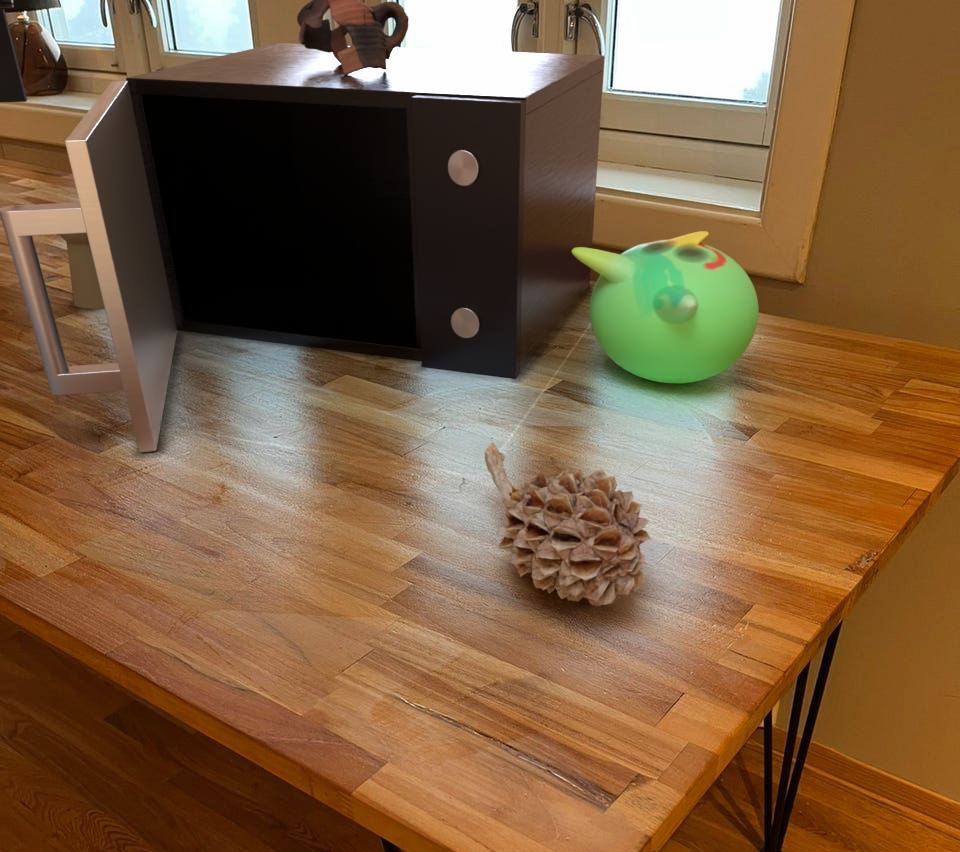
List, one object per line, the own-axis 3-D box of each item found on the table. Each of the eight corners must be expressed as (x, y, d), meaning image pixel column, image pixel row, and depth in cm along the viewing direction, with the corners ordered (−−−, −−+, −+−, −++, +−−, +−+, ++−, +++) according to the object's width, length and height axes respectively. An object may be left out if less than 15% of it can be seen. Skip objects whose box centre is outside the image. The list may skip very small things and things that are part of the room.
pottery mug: (320, 82, 101) (288, -1, 99) (320, 113, 110) (290, 38, 108) (425, 43, 102) (396, -40, 100) (416, 77, 111) (389, 2, 109)
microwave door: (62, 459, 90) (-31, 144, 74) (103, 337, 116) (41, 83, 100) (156, 451, 92) (85, 140, 75) (177, 332, 117) (127, 80, 101)
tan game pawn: (130, 295, 129) (110, 207, 122) (108, 309, 124) (86, 219, 117) (88, 292, 130) (66, 205, 123) (65, 307, 125) (41, 217, 118)
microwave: (513, 382, 105) (518, 101, 88) (164, 337, 116) (111, 80, 100) (589, 285, 131) (604, 55, 115) (299, 256, 143) (275, 43, 126)
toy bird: (774, 377, 106) (801, 237, 97) (682, 424, 96) (703, 273, 87) (644, 336, 116) (657, 205, 107) (549, 374, 106) (555, 235, 97)
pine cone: (681, 619, 70) (699, 498, 64) (571, 660, 66) (580, 536, 60) (520, 492, 85) (523, 385, 79) (424, 520, 81) (419, 410, 75)
